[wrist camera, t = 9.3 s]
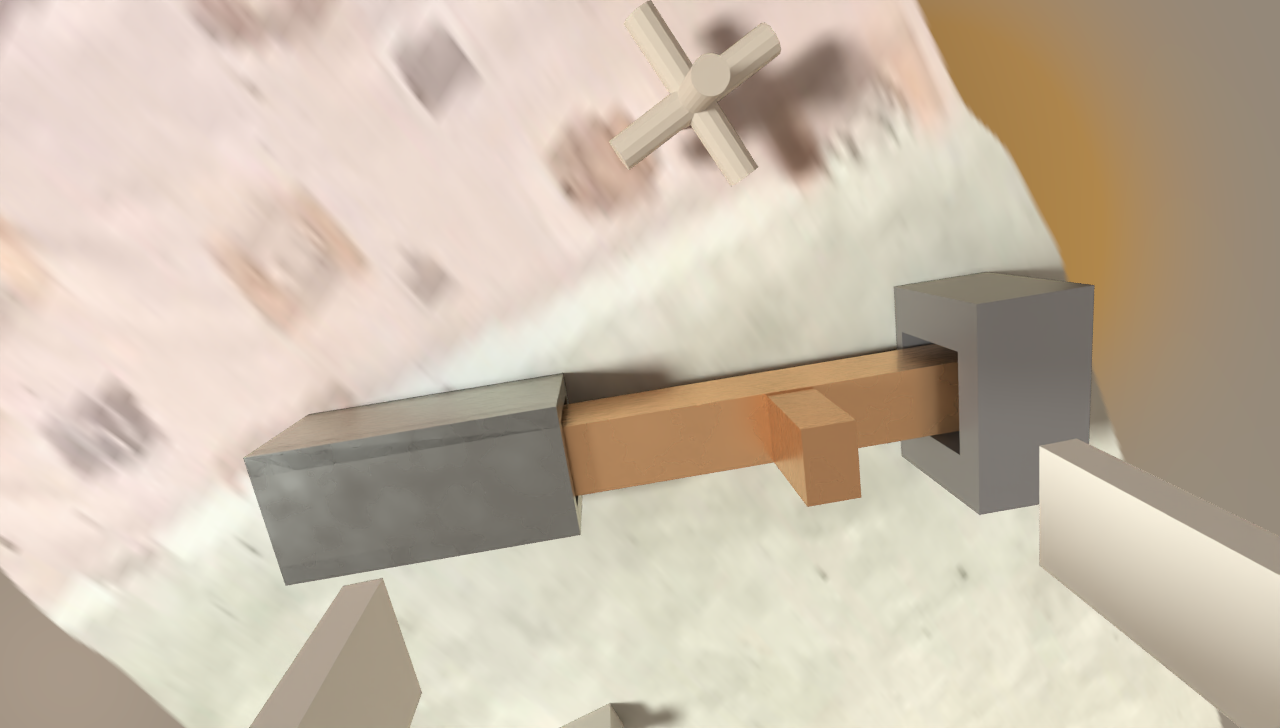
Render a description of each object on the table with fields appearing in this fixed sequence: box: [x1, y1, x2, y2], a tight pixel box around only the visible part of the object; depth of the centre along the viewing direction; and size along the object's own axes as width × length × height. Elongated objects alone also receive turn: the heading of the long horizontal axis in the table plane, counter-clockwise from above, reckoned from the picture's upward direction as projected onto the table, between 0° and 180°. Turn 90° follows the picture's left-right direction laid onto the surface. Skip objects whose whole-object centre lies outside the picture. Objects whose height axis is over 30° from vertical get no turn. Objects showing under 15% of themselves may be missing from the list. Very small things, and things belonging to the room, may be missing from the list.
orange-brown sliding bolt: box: [561, 344, 959, 507], centre depth 35 cm, size 4×30×10 cm, turn 99°
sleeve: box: [243, 373, 582, 585], centre depth 37 cm, size 8×17×8 cm, turn 99°
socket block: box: [894, 272, 1094, 515], centre depth 37 cm, size 12×6×9 cm, turn 9°
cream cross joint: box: [609, 0, 781, 186], centre depth 32 cm, size 10×10×10 cm
